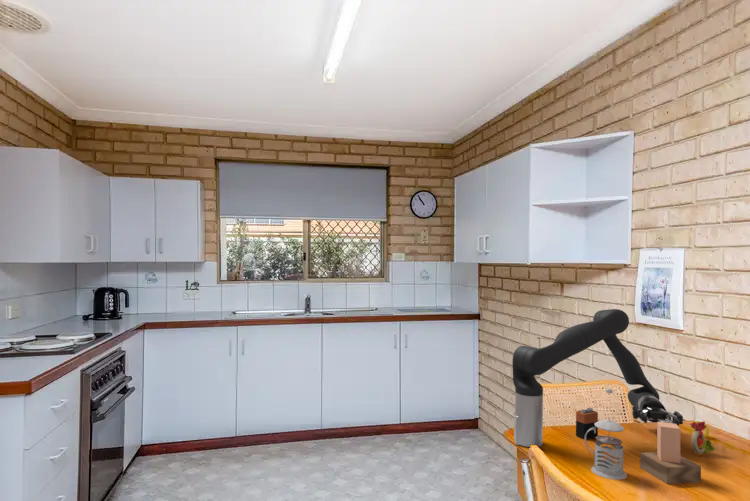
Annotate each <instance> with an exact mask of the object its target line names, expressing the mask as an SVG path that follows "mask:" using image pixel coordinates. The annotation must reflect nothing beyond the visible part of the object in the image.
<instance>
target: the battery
mask: <svg viewBox="0 0 750 501" xmlns="http://www.w3.org/2000/svg"><path fill="white" fill-rule="evenodd" d="M598 417H599V413H598V412H597V411H595V410H594V408H592V407H587V408H586V409H580V410H576V411H575V436H576V437H578V438H581V439H582V440H585V438H584V437H585V434H586V432H587V431H588V430H589V429H590V428H593V427H594V428H593V429H595V428H596V433H594V430H590V431H589V432H588V433H587V435H586V440H590V439H594V438H595V439H596V437H597V436H599V435H598V432H599V428H597V427H595V424H594V423H596V422H598V421H599V418H598Z"/></svg>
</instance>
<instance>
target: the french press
mask: <svg viewBox="0 0 750 501" xmlns="http://www.w3.org/2000/svg"><path fill="white" fill-rule="evenodd" d="M605 393H606V394H607V393H608V394H613V390H612V388H606V389H605ZM594 424H595V427H597V428H598V430H602V431H605V432H612V433H613V432H614V433H621V432H624V430H625V428H624V426H622V425H621V424H620V423H618V422H616V421H614V420H610V419H606V420H605V419H601V420H598V422H596V423H594ZM593 428H594V427H593ZM593 428H590V429H589V430H588V431H587V432H586V434H585V437H584V438H585V439H584V445H585V447H586V449H587V450H588V451H589V452H590V453H592V454H593V466H592V467H591V468H590V470H591V472H592V473H593V474H594V475H596V476H599V477H602V478H605V479H610V480H618V481H619V480H624V479H625V480H626V478H627V477H628V475H627V473H626V472H625V471H624V446H623V445H622V444H623V441H622V440H621V439H619V438H618V437H615V436H610V435H607V434H606V435H598V436H597V437H596V438H595V439H596V441H595V442H594V449H592V448H591V447H590V446H589V444H588V442H587V439H586V435H587V433H588V432H589V431H590V430H594V433H596V428H595V429H593ZM602 445H603V446H602ZM607 445H608V446H607ZM605 453H607V454H605ZM604 457H605V458H604Z"/></svg>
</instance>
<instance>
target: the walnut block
mask: <svg viewBox="0 0 750 501" xmlns="http://www.w3.org/2000/svg"><path fill="white" fill-rule="evenodd" d="M639 469H641V470H643V471H644V472H646V473H648V474H650V475H651V476H652V477H655V478H656V479H658V480H659V481H661V482H663V483H665V485H673V484H693V483H694V484H696V483H702V466H701V465H700V464H697V463H695V462H693V461H692V460H690V459H687V458H686V457H683V456H682V455H680V463H673V462H666V461H661V460H660V458H659V457H658V455H657V451H653V452H652V451H651V452H650V451H649V452H639Z"/></svg>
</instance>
